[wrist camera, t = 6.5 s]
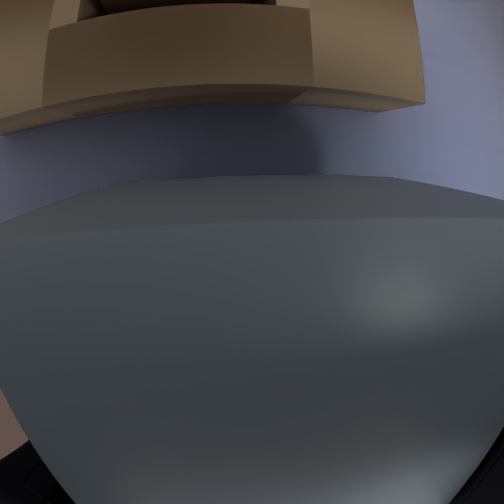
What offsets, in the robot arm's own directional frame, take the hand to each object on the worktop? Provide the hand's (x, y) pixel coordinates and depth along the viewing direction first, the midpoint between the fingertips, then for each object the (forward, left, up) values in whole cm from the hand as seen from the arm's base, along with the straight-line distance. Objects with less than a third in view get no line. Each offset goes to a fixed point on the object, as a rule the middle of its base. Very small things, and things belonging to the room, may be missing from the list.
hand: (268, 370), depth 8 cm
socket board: (+17, +2, -2) cm, 17 cm away
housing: (0, 0, -1) cm, 1 cm away
